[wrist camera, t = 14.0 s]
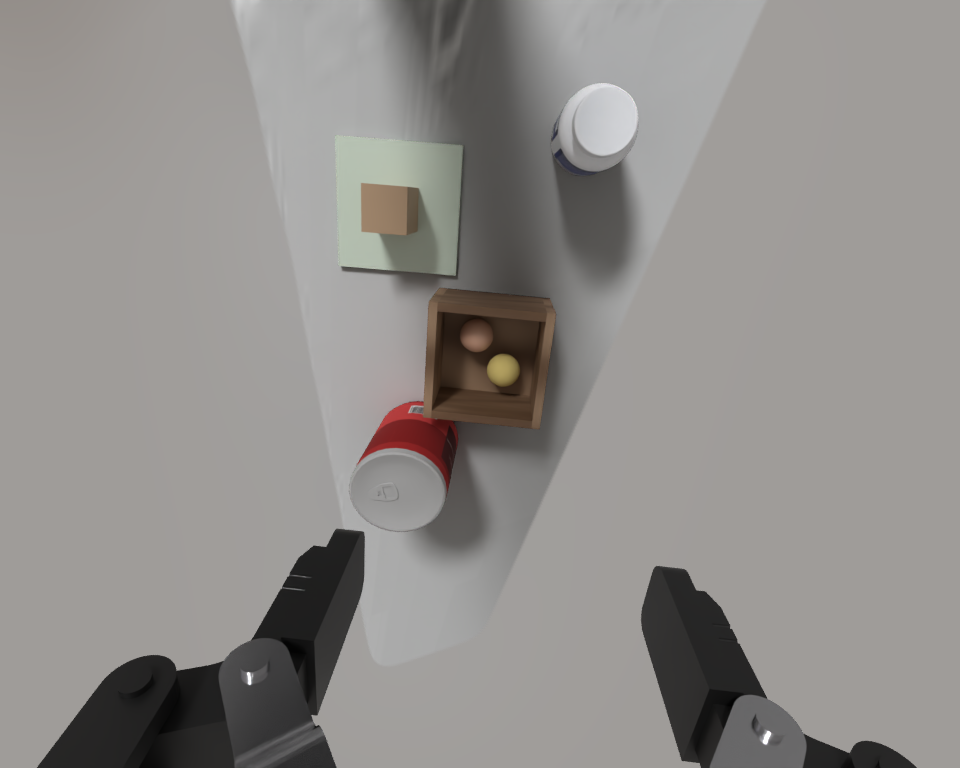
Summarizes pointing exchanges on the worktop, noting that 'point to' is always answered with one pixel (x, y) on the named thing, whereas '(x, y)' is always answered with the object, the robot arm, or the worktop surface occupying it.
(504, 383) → the ball mustard
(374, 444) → the canned food
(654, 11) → the worktop surface
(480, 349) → the ball terracotta
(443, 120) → the worktop surface
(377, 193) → the lid
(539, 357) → the box
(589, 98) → the pill bottle
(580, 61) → the worktop surface
